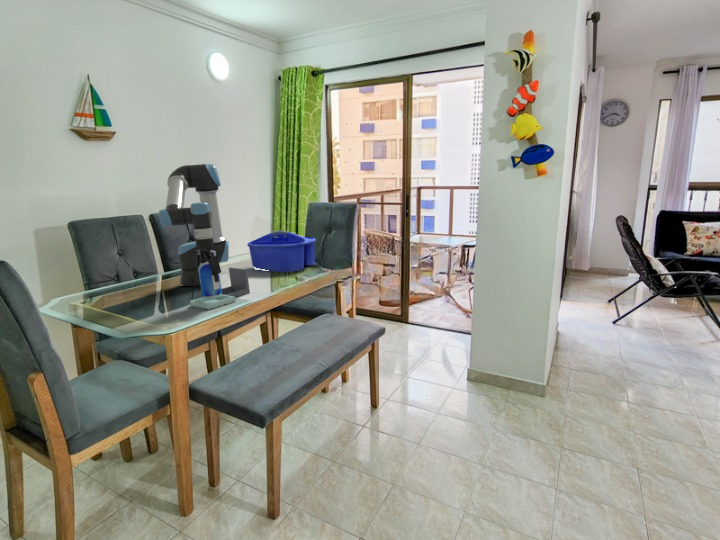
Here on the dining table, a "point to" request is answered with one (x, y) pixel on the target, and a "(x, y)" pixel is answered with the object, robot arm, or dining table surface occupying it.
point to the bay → (237, 282)
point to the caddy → (282, 252)
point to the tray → (212, 302)
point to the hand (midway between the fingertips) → (211, 287)
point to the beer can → (208, 282)
